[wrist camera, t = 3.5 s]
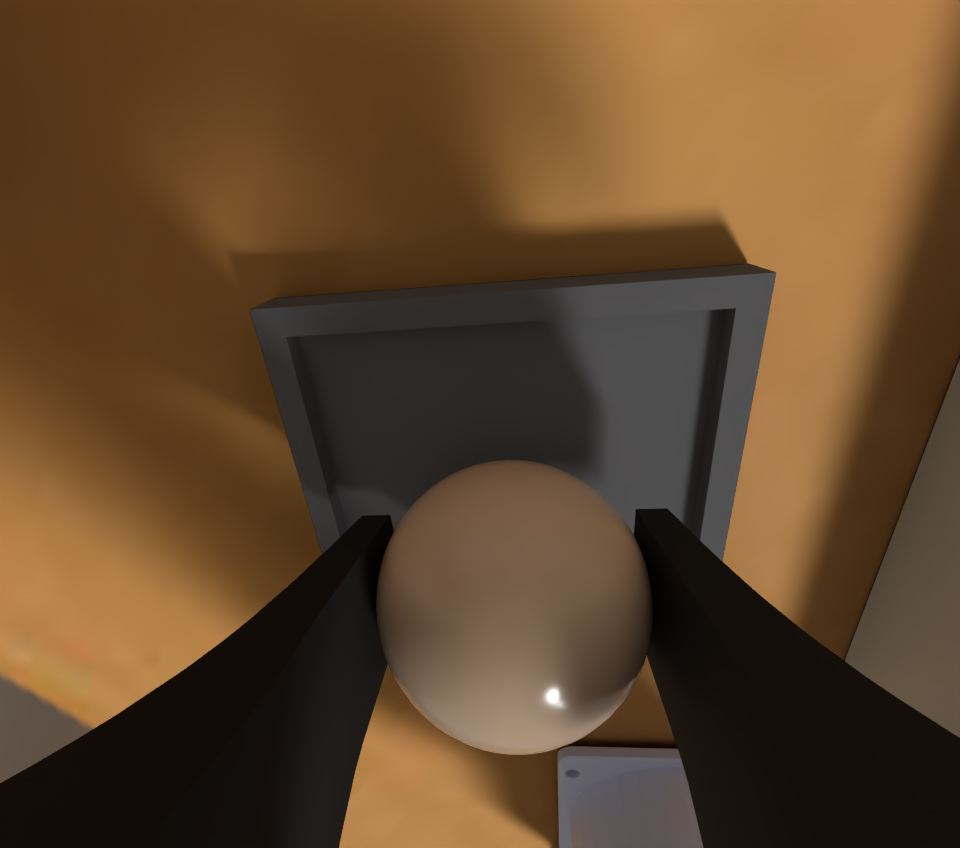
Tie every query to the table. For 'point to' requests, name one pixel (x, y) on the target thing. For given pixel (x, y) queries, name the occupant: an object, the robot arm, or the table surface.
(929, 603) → the tray
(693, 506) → the coaster
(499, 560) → the beige ball
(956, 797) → the robot arm
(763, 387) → the table surface
